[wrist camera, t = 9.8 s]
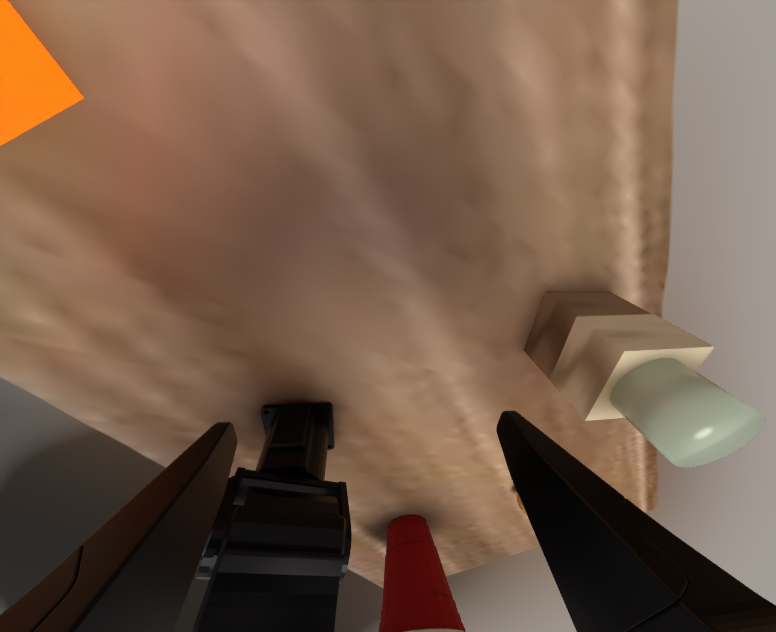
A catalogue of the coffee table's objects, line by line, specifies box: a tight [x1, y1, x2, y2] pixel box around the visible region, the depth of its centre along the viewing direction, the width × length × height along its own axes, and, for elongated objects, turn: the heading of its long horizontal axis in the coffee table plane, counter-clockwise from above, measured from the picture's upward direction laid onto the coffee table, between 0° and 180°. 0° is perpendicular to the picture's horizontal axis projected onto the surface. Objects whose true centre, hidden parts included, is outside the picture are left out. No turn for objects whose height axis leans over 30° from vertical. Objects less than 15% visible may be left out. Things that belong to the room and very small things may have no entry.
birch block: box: [550, 314, 714, 421], centre depth 19 cm, size 6×6×4 cm
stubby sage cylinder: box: [610, 358, 765, 467], centre depth 16 cm, size 5×5×4 cm
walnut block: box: [524, 292, 651, 379], centre depth 23 cm, size 6×6×4 cm
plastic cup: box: [379, 516, 465, 632], centre depth 35 cm, size 11×11×12 cm
